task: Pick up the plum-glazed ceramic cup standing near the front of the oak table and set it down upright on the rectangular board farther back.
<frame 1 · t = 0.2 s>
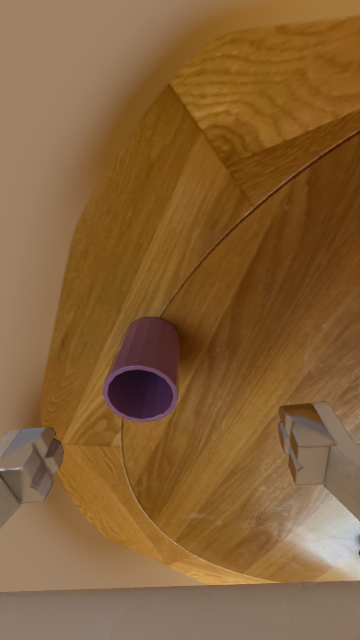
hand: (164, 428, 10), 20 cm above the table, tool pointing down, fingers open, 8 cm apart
cup: (151, 341, 32), on the table
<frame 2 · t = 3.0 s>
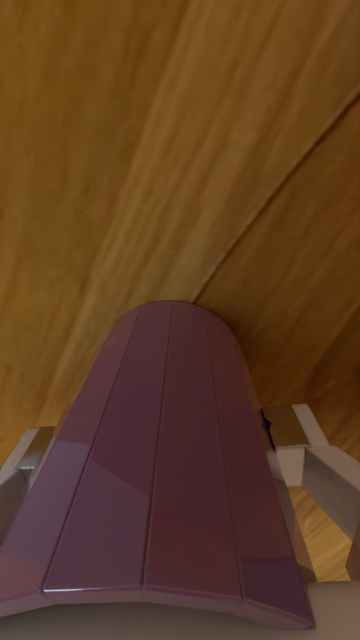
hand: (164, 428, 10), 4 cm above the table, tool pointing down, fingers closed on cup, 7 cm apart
cup: (170, 364, 13), on the table, touching gripper
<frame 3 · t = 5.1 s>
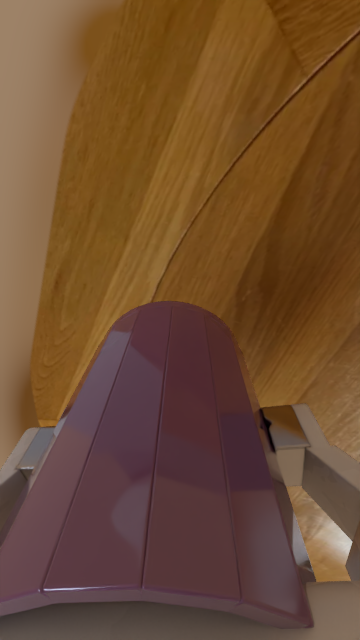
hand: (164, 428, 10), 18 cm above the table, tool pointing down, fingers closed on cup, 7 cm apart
cup: (170, 364, 13), point 14 cm above the table, touching gripper
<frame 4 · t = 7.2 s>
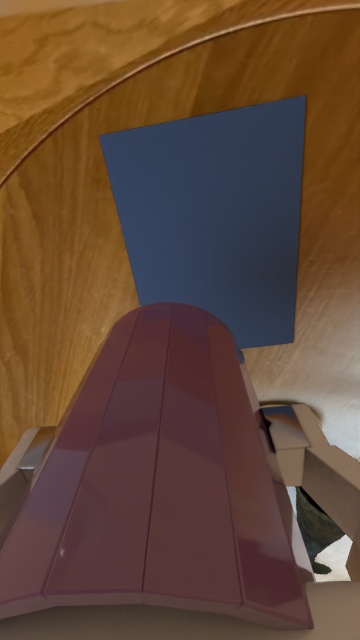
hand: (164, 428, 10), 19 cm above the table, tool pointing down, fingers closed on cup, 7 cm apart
vase with red roses: (277, 515, 47), on the table
cup: (170, 365, 13), point 16 cm above the table, touching gripper
rectangular board: (212, 255, 26), on the table
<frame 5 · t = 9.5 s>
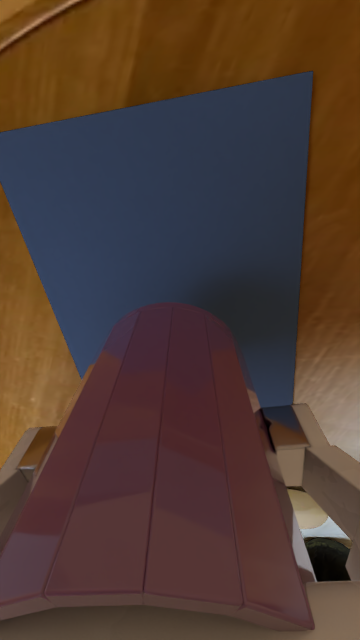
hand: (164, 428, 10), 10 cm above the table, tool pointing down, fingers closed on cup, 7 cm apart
vase with red roses: (272, 592, 40), on the table
fruit: (246, 503, 29), on the table
cup: (171, 365, 13), point 6 cm above the table, touching gripper
rectangular board: (175, 310, 18), on the table
when the fingers open (4 cm above the table, at t = 11.4 s): cup stays where it is, resting on rectangular board.
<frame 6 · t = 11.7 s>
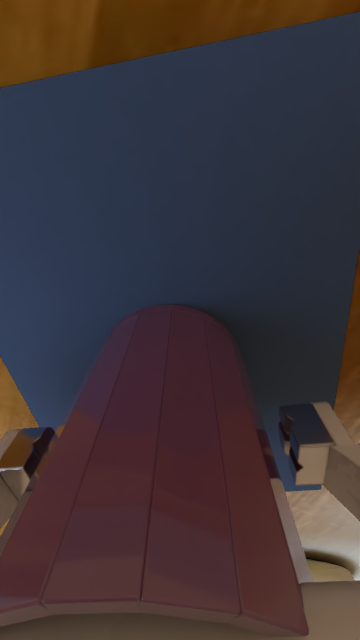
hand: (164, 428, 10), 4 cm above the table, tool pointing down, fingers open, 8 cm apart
fruit: (258, 570, 24), on the table
cup: (170, 367, 13), resting on rectangular board
rectangular board: (170, 360, 13), on the table
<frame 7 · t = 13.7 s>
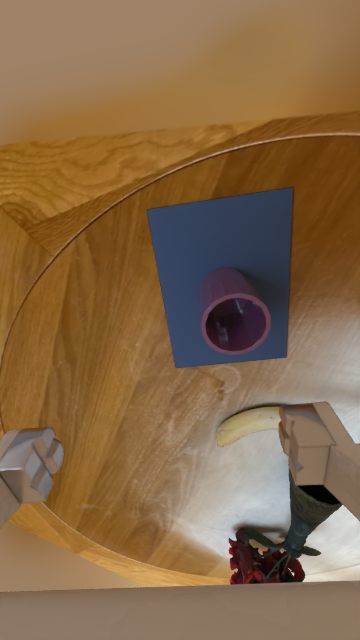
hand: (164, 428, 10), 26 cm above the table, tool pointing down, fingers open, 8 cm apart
vase with red roses: (274, 505, 55), on the table
fruit: (258, 422, 45), on the table
cup: (225, 293, 34), resting on rectangular board
rectangular board: (224, 291, 34), on the table
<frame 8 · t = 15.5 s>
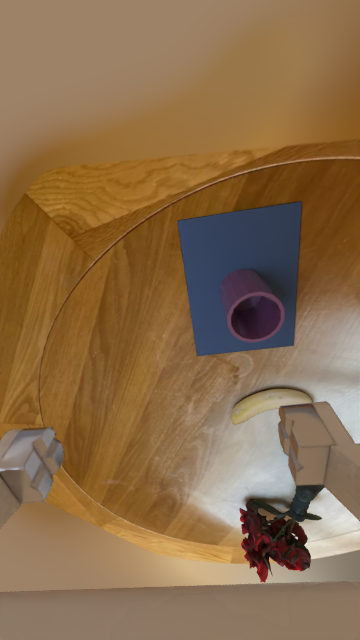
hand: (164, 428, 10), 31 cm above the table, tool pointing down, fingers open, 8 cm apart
vase with red roses: (280, 478, 62), on the table
fruit: (267, 402, 51), on the table
cup: (241, 290, 40), resting on rectangular board
rectangular board: (241, 289, 40), on the table
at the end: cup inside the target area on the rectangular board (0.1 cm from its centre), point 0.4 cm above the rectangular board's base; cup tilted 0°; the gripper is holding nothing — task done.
